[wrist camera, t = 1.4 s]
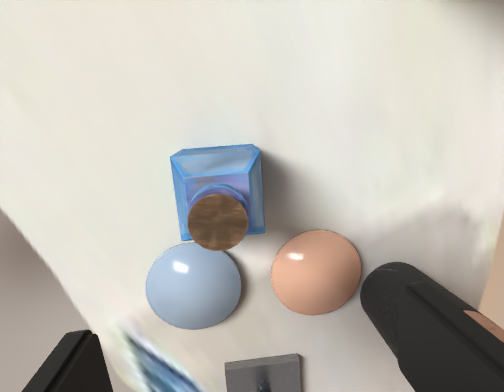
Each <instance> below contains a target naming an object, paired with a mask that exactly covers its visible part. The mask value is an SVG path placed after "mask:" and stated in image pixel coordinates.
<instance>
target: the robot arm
mask: <svg viewBox="0 0 504 392" xmlns="http://www.w3.org/2000/svg"><path fill="white" fill-rule="evenodd" d="M398 365H399V368H400V370H401V372H402V373H403V375H404V376H405V378H406V379H407V380H408V382H409V383H410V385H411V386H412V387H413V389H414V390H415V392H504V343H503V342H502V341H501V340H500V339H498V338H497V337H496V336H495V335H493V334H492V333H491V332H489V331H488V330H487V329H486V328H484V327H483V326H482V325H481V324H479V323H478V322H477V321H475V320H474V319H473V318H472V317H470V316H469V315H468V314H467V313H465V312H464V311H463V310H461V309H460V308H459V307H458V306H456V305H455V304H454V303H453V302H451V301H450V300H449V299H447V298H446V297H445V296H444V295H442V294H441V293H440V292H439V291H437V290H436V289H435V288H433V287H432V286H431V285H430V284H428V283H427V282H416V283H409V284H405V286H404V288H403V289H402V290H400V293H399V323H398ZM22 392H113V389H112V385H111V382H110V378H109V374H108V371H107V367H106V363H105V360H104V356H103V352H102V349H101V345H100V341H99V338H98V335H97V334H92V332H91V331H90V330H82V331H75V332H69V333H66V334H65V335H64V337H63V338H62V339H61V341H60V342H59V343H58V345H57V346H56V347H55V348H54V350H53V351H52V352H51V354H50V355H49V356H48V358H47V359H46V360H45V362H44V363H43V364H42V366H41V367H40V368H39V370H38V371H37V373H35V375H34V376H33V377H32V379H31V380H30V381H29V383H28V384H27V385H26V387H25V388H24V389H23V391H22Z"/></svg>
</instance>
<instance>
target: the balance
mask: <svg viewBox="0 0 504 392" xmlns="http://www.w3.org/2000/svg"><path fill="white" fill-rule="evenodd" d="M225 376H226V385H227V392H301V380H300V360H299V357H298V354H290V355H282V356H275V357H267V358H259V359H252V360H244V361H236V362H229V363H225Z"/></svg>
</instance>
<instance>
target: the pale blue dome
mask: <svg viewBox="0 0 504 392" xmlns="http://www.w3.org/2000/svg"><path fill="white" fill-rule="evenodd" d="M240 294H241V279H240V274H239V271H238V268H237V266H236V264H235V263H234V261H233V260H232V259H231V258H230V257H229V256H228V255H227V254H226V253H225V252H223V251H211V250H208V249H205V248H202V247H201V246H200V245H198V244H197V243H196V242H193V243H184V244H180V245H177V246H174V247H172V248H170V249H168V250H167V251H165V252H164V253H163V254H161V255H160V256H159V257H158V258H157V259H156V261H155V262H154V263H153V265H152V267H151V269H150V271H149V273H148V276H147V279H146V296H147V300H148V302H149V305H150V306H151V308H152V310H153V311H154V312H155V313H156V315H158V316H159V317H160V318H161V319H162V320H163V321H165V322H167V323H168V324H170V325H173V326H175V327H178V328H182V329H190V330H196V329H204V328H208V327H211V326H214V325H216V324H218V323H220V322H221V321H223V320H224V319H225V318H227V317H228V316H229V315H230V314H231V313H232V311H233V310H234V309H235V307H236V305H237V303H238V301H239V298H240Z"/></svg>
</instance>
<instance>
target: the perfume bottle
mask: <svg viewBox="0 0 504 392" xmlns="http://www.w3.org/2000/svg"><path fill="white" fill-rule="evenodd" d="M170 161H171V168H172V175H173V183H174V190H175V197H176V204H177V211H178V219H179V226H180V233H181V240H182V241H189V240H194V241H195V242H196V243H197V244H198V245H200V246H201V247H202V248H205V249H208V250H211V251H223V250H227V249H230V248H232V247H234V246H235V245H237V244H238V243H239V242H240V241H241V240H242V239H243V238H244V235H249V234H259V233H265V223H264V207H263V191H262V175H261V159H260V149H258V148H257V147H255V146H254V145H253V144H245V145H232V146H219V147H206V148H193V149H182V150H181V151H179V152H177V153H176V154H174V155H172V156H171V157H170Z"/></svg>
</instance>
